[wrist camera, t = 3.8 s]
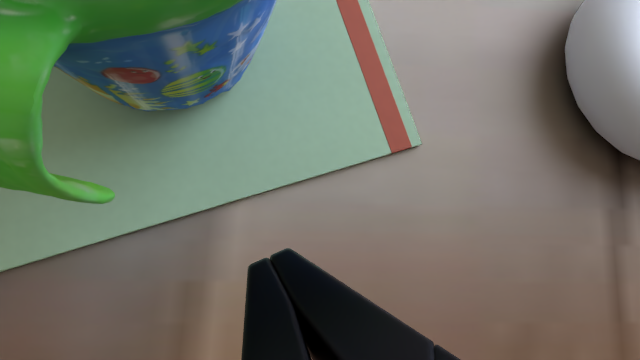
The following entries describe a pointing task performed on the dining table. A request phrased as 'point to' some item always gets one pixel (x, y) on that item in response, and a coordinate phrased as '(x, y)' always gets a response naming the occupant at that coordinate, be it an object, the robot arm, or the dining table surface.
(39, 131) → the snack cup
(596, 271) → the dining table surface
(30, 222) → the green flat piece
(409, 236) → the dining table surface
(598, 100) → the donut
